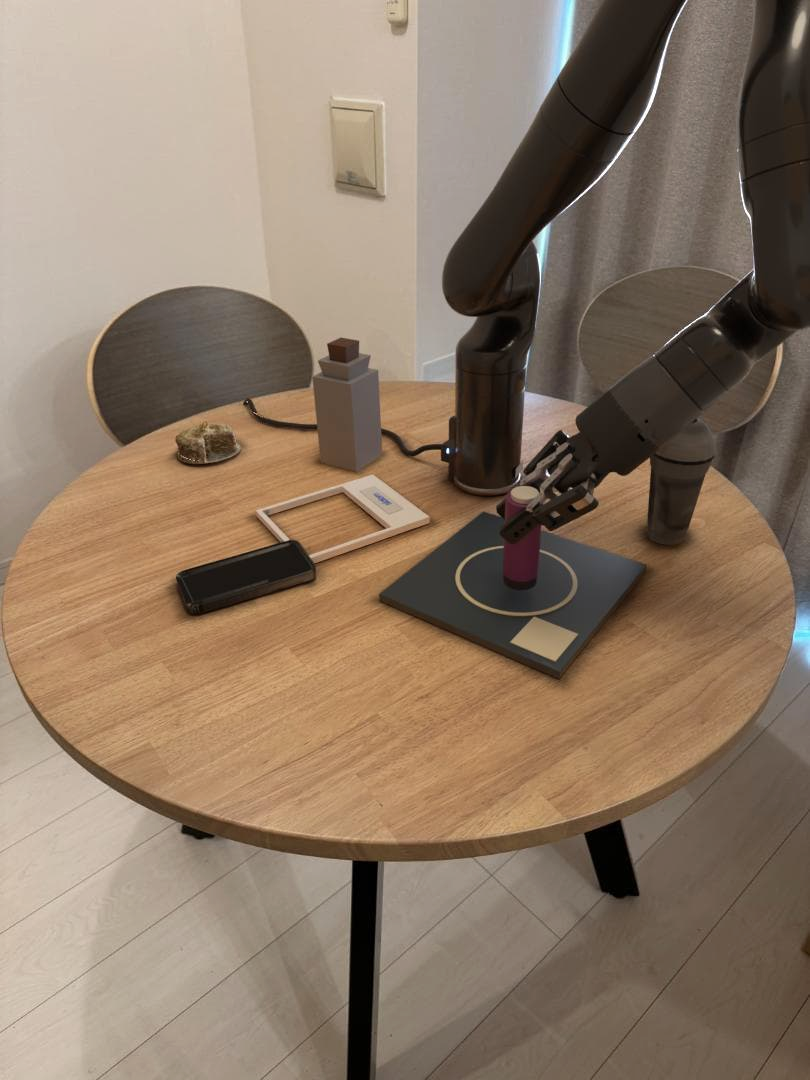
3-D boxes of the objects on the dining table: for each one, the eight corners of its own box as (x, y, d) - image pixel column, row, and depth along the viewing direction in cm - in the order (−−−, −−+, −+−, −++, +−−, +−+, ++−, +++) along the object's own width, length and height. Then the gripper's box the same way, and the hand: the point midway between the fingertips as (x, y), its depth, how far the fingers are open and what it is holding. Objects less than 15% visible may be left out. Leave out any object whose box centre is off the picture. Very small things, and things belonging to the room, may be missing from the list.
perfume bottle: (382, 454, 114) (376, 339, 104) (356, 472, 109) (348, 352, 99) (347, 445, 117) (338, 332, 107) (320, 462, 112) (309, 345, 102)
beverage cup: (700, 553, 88) (735, 394, 77) (637, 548, 89) (663, 391, 79) (692, 522, 94) (724, 371, 83) (633, 518, 95) (657, 368, 85)
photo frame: (429, 515, 95) (302, 559, 87) (429, 522, 96) (303, 567, 88) (372, 473, 106) (255, 509, 98) (373, 480, 106) (256, 516, 98)
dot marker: (495, 583, 80) (498, 494, 74) (513, 567, 83) (517, 480, 77) (526, 595, 78) (532, 505, 72) (543, 578, 81) (550, 489, 75)
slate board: (379, 600, 82) (378, 592, 81) (483, 517, 97) (483, 510, 96) (559, 679, 70) (560, 670, 70) (646, 571, 85) (647, 563, 85)
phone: (173, 572, 85) (296, 537, 91) (175, 580, 86) (297, 545, 91) (188, 609, 79) (318, 569, 85) (190, 617, 80) (319, 577, 85)
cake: (163, 462, 115) (155, 429, 112) (209, 439, 122) (202, 408, 119) (209, 471, 110) (201, 437, 107) (254, 446, 117) (248, 414, 114)
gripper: (598, 363, 74) (474, 472, 81) (630, 420, 62) (482, 542, 69) (643, 412, 77) (520, 513, 84) (683, 475, 65) (534, 587, 72)
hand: (503, 525), depth 77 cm, fingers closed on dot marker, 3 cm apart
